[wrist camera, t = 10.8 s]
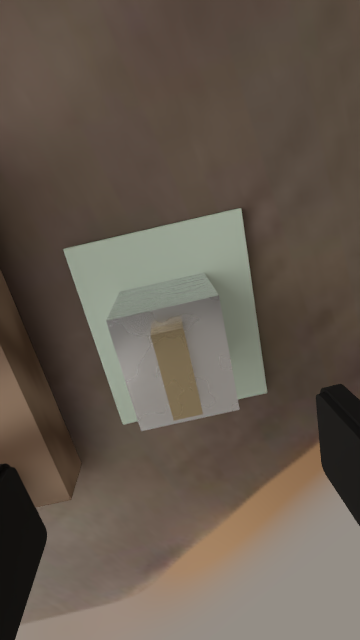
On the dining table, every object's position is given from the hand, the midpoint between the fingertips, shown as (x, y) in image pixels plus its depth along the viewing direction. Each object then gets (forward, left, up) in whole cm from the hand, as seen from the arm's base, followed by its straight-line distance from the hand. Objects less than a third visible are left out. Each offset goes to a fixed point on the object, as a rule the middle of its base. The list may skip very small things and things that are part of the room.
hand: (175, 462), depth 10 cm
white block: (0, 0, -10) cm, 10 cm away
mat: (0, -1, -11) cm, 11 cm away
